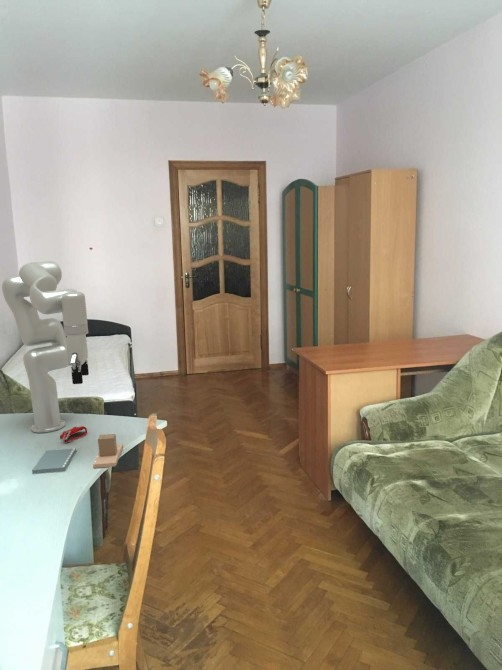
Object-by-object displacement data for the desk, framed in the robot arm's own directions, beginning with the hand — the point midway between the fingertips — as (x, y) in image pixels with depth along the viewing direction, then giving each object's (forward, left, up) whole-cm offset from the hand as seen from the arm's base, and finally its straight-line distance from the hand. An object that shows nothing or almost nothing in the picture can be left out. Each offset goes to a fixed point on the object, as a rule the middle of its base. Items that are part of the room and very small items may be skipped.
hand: (80, 379), depth 186 cm
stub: (+9, +8, -25) cm, 28 cm away
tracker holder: (-13, -9, -26) cm, 30 cm away
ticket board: (+9, -9, -25) cm, 28 cm away
